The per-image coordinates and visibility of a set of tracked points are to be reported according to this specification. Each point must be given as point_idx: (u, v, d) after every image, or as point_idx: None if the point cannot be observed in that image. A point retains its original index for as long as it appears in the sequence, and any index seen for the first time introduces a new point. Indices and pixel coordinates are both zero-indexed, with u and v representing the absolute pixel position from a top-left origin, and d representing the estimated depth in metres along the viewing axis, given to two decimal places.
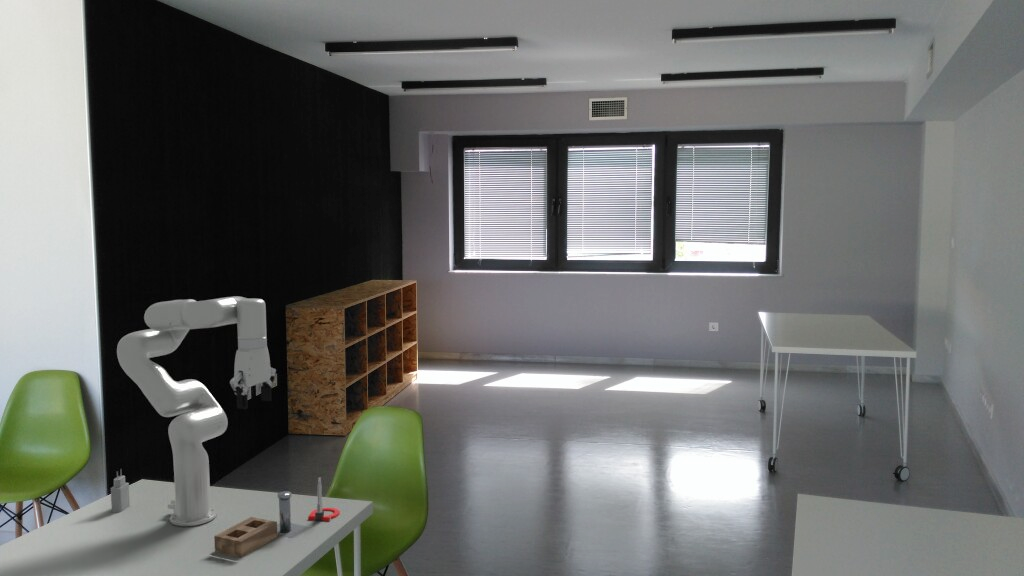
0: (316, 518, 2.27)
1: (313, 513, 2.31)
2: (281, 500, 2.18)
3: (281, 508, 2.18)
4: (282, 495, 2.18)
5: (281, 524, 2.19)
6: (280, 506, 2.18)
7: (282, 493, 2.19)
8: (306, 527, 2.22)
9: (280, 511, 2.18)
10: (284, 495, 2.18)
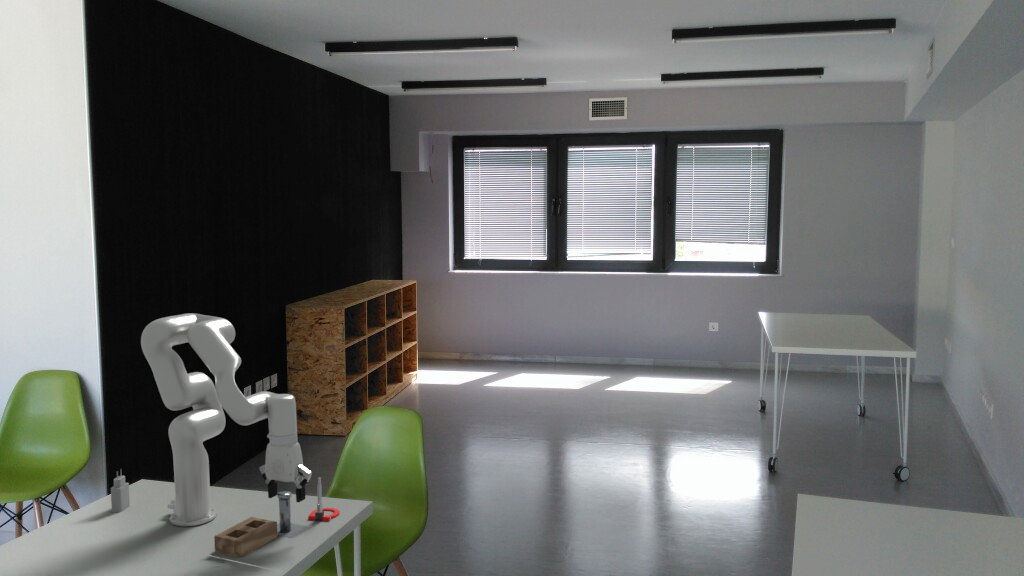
0: (316, 518, 2.27)
1: (313, 513, 2.31)
2: (281, 500, 2.18)
3: (281, 508, 2.18)
4: (282, 495, 2.18)
5: (281, 524, 2.19)
6: (280, 506, 2.18)
7: (282, 493, 2.19)
8: (306, 527, 2.22)
9: (280, 511, 2.18)
10: (284, 495, 2.18)
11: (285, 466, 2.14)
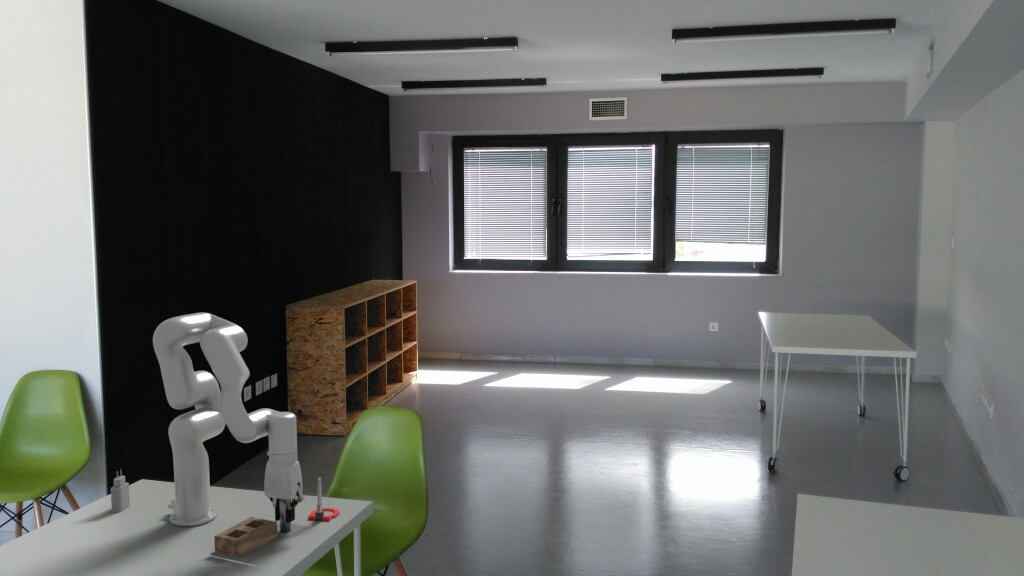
0: (316, 518, 2.27)
1: (313, 513, 2.31)
2: (281, 500, 2.18)
3: (281, 508, 2.18)
4: None
5: (281, 524, 2.19)
6: (280, 506, 2.18)
7: None
8: (306, 527, 2.22)
9: (280, 511, 2.18)
10: None
11: (284, 484, 2.15)
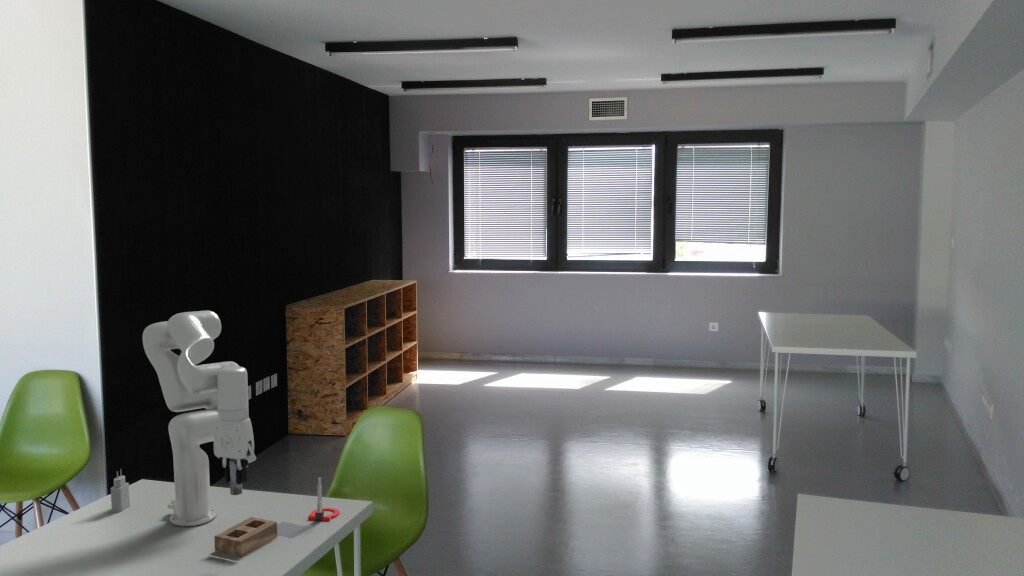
0: (316, 518, 2.27)
1: (313, 513, 2.31)
2: (231, 460, 2.04)
3: (231, 468, 2.05)
4: None
5: (231, 486, 2.05)
6: (230, 466, 2.05)
7: None
8: (306, 527, 2.22)
9: (230, 472, 2.05)
10: None
11: (234, 442, 2.02)
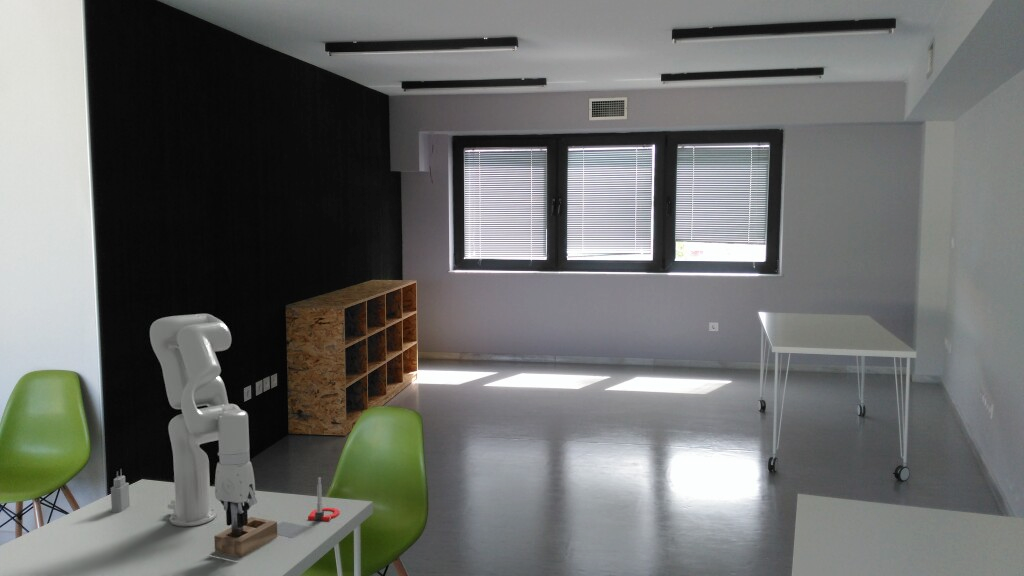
0: (316, 518, 2.27)
1: (313, 513, 2.31)
2: (232, 503, 2.05)
3: (232, 511, 2.06)
4: None
5: (233, 529, 2.06)
6: (231, 510, 2.06)
7: None
8: (306, 527, 2.22)
9: (231, 515, 2.06)
10: None
11: (235, 486, 2.03)
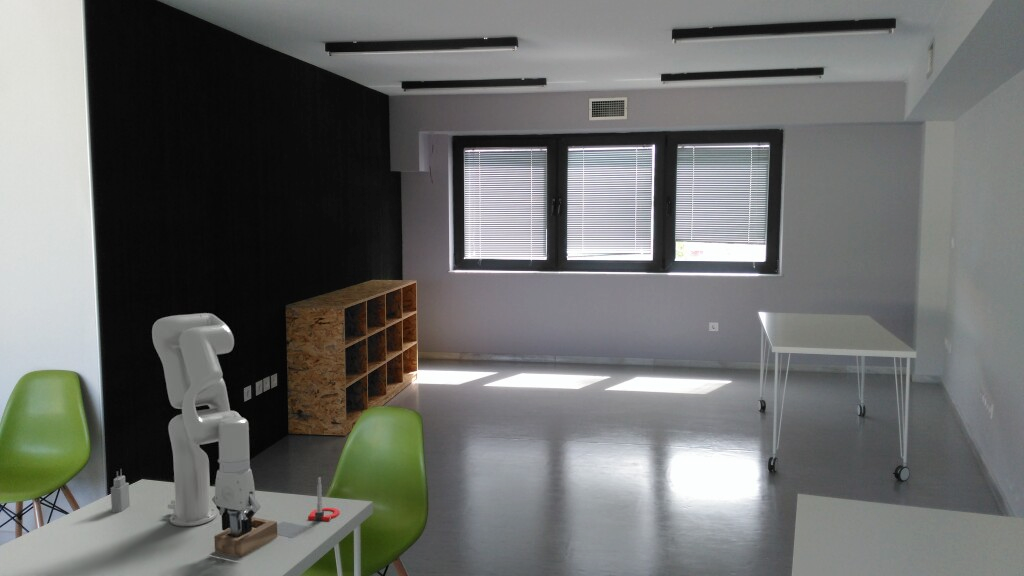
0: (316, 518, 2.27)
1: (313, 513, 2.31)
2: (231, 515, 2.06)
3: (231, 524, 2.06)
4: (232, 510, 2.06)
5: None
6: (230, 522, 2.06)
7: None
8: (306, 527, 2.22)
9: (231, 527, 2.07)
10: (234, 510, 2.06)
11: (235, 494, 2.03)
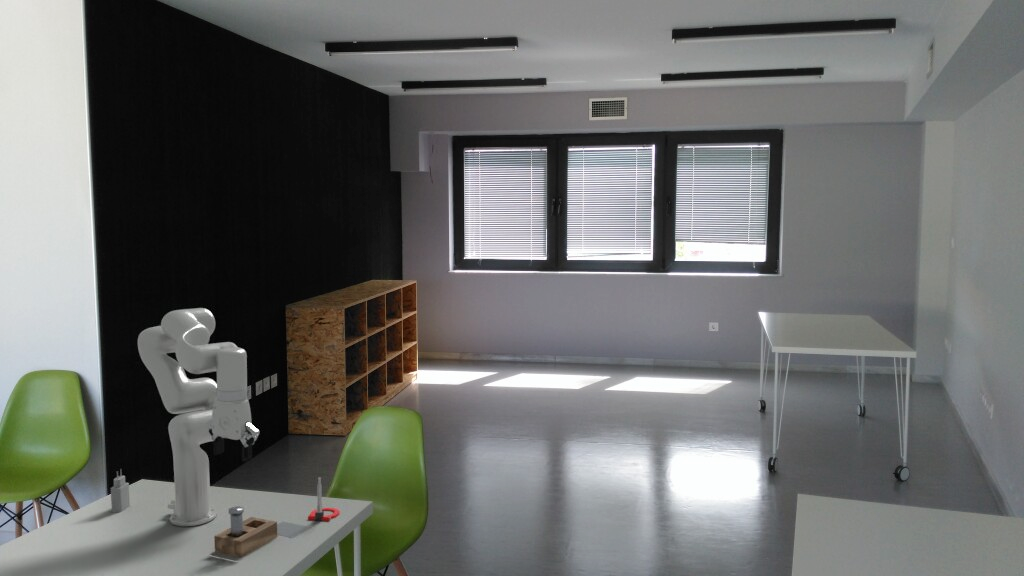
0: (316, 518, 2.27)
1: (313, 513, 2.31)
2: (232, 516, 2.06)
3: (232, 524, 2.06)
4: (233, 511, 2.06)
5: None
6: (231, 522, 2.06)
7: (234, 508, 2.07)
8: (306, 527, 2.22)
9: (231, 527, 2.07)
10: (235, 511, 2.06)
11: (232, 423, 2.04)
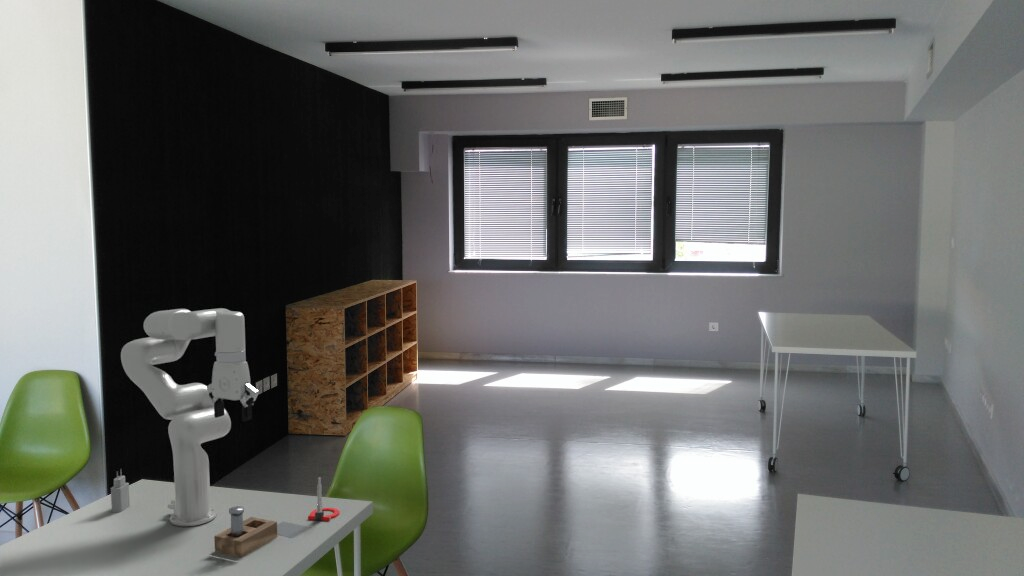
0: (316, 518, 2.27)
1: (313, 513, 2.31)
2: (233, 515, 2.06)
3: (232, 524, 2.06)
4: (234, 510, 2.06)
5: None
6: (232, 522, 2.06)
7: (234, 508, 2.07)
8: (306, 527, 2.22)
9: (232, 527, 2.07)
10: (236, 510, 2.06)
11: (231, 384, 2.10)
